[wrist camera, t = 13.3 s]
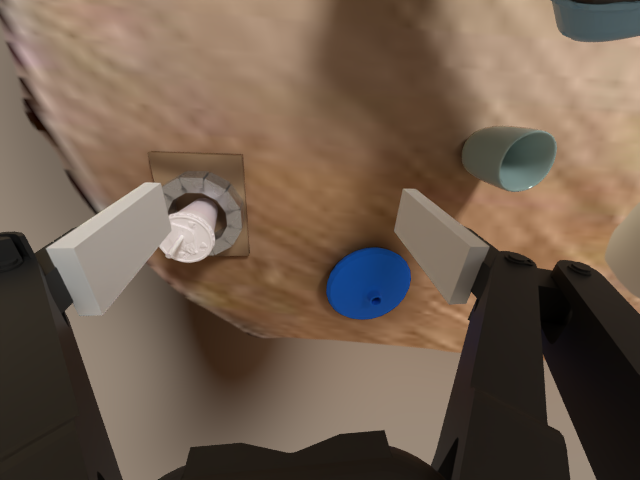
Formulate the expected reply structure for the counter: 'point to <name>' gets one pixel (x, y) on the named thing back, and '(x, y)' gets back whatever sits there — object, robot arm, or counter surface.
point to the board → (220, 164)
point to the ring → (214, 189)
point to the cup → (509, 156)
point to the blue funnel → (368, 283)
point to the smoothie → (191, 232)
